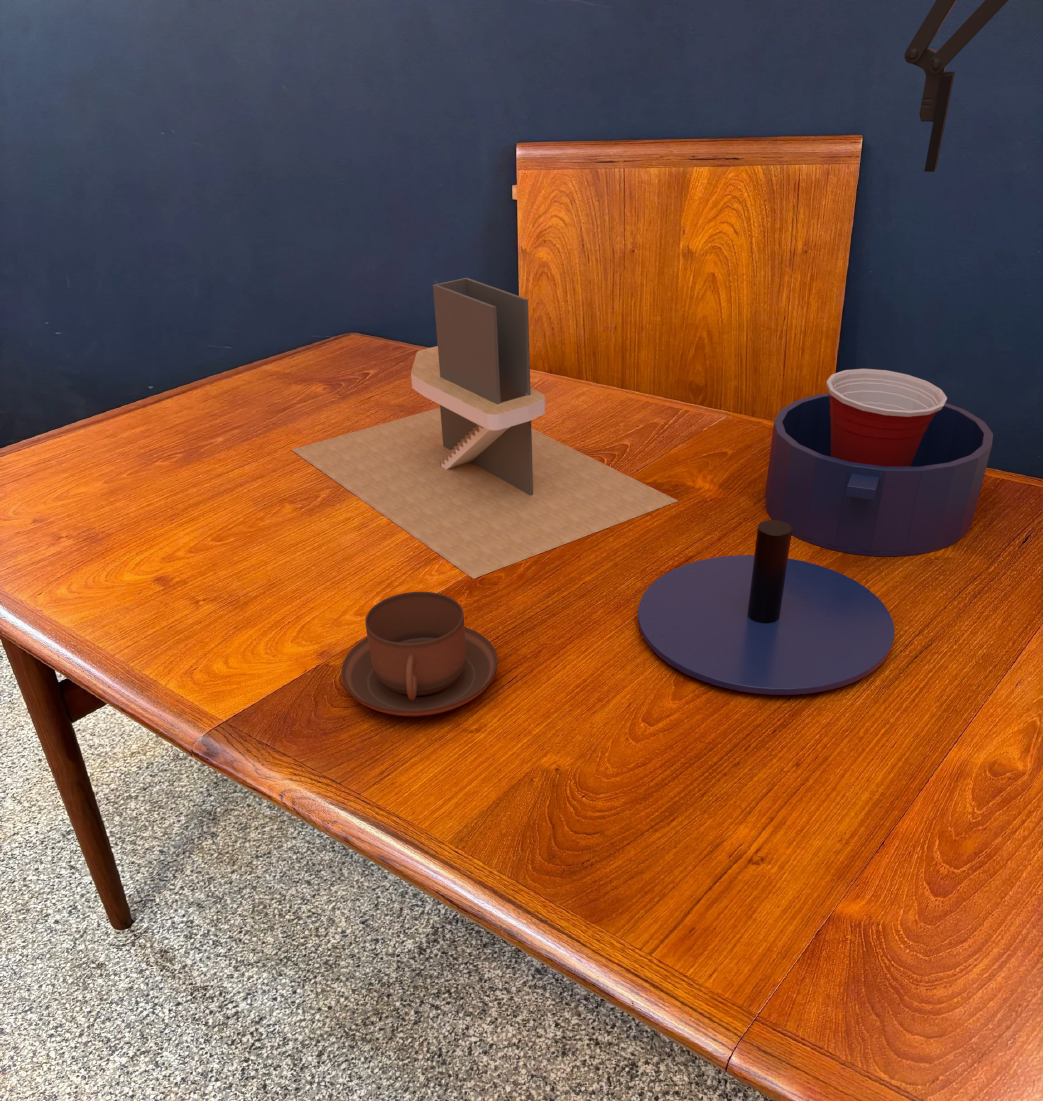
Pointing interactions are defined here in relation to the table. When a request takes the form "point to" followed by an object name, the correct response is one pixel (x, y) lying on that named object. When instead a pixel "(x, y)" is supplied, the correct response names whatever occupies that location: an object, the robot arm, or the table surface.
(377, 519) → the table surface
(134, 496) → the table surface
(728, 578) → the pot lid
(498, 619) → the table surface
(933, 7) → the robot arm
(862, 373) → the plastic cup
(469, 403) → the architectural model
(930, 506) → the pot
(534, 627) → the table surface
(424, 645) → the cup and saucer
